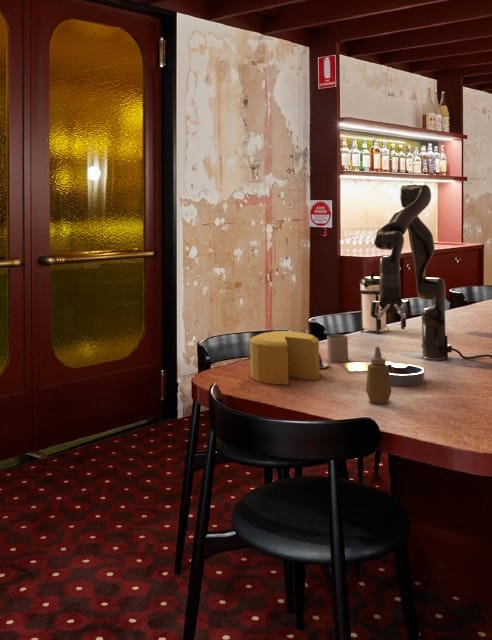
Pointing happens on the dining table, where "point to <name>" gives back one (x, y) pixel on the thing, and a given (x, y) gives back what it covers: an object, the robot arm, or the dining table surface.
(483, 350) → the dining table surface
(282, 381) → the cheese
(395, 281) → the robot arm
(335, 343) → the cup
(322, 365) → the pudding
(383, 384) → the squeeze bottle
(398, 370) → the mushroom
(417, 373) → the bowl
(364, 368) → the board
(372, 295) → the coffee press
